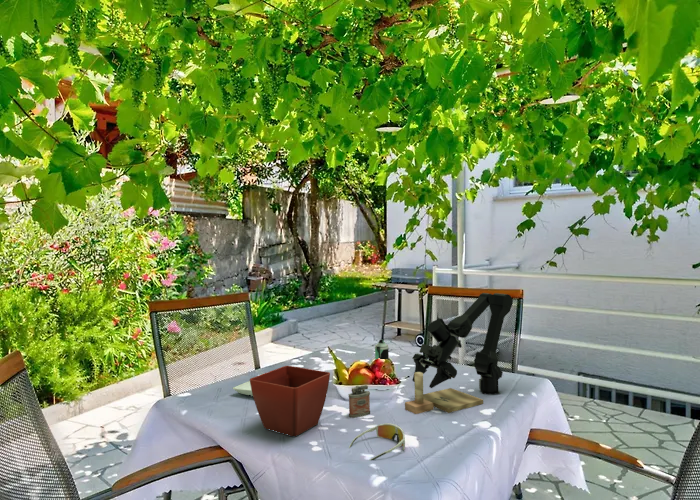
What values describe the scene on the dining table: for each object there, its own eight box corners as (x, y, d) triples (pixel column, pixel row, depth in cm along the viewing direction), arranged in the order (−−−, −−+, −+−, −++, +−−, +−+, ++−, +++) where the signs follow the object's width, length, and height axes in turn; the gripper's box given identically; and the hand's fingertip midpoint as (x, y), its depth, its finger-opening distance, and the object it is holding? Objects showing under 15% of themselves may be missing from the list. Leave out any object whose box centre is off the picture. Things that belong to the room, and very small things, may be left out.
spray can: (388, 390, 193) (387, 340, 193) (374, 390, 194) (373, 340, 194) (389, 386, 198) (389, 338, 198) (376, 386, 199) (375, 337, 199)
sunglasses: (415, 448, 139) (413, 432, 138) (375, 471, 130) (372, 453, 130) (384, 433, 150) (382, 418, 150) (345, 453, 142) (342, 437, 141)
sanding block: (422, 405, 176) (421, 369, 175) (433, 409, 171) (433, 373, 170) (405, 409, 171) (404, 373, 171) (415, 414, 166) (415, 376, 166)
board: (450, 391, 190) (450, 387, 190) (483, 403, 176) (483, 399, 176) (417, 399, 181) (417, 395, 181) (448, 413, 167) (448, 408, 167)
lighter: (351, 418, 163) (351, 389, 163) (347, 415, 166) (346, 386, 166) (372, 414, 167) (371, 385, 167) (367, 411, 170) (366, 383, 170)
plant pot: (296, 444, 143) (295, 387, 143) (248, 431, 153) (247, 378, 153) (332, 423, 160) (331, 372, 159) (287, 412, 170) (286, 365, 169)
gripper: (416, 331, 182) (392, 365, 176) (450, 339, 166) (426, 376, 160) (432, 350, 186) (409, 383, 181) (467, 359, 170) (444, 396, 165)
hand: (421, 384), depth 171 cm, fingers open, 9 cm apart
